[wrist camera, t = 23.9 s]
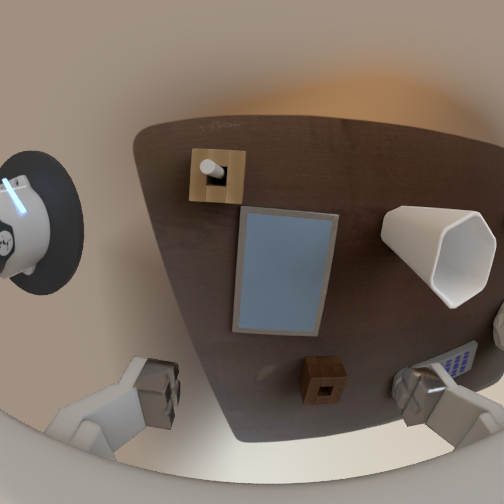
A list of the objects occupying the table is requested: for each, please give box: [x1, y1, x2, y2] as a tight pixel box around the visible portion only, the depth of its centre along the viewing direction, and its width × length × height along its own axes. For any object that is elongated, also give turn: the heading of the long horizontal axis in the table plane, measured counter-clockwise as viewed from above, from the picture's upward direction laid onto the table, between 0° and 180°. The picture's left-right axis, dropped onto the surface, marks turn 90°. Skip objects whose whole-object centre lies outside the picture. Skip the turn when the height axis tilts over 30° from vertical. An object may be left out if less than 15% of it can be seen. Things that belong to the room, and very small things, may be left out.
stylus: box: [200, 159, 227, 179], centre depth 32 cm, size 1×1×14 cm
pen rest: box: [189, 149, 247, 204], centre depth 36 cm, size 6×6×6 cm
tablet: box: [232, 205, 339, 336], centre depth 43 cm, size 14×20×1 cm
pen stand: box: [299, 357, 348, 405], centre depth 45 cm, size 6×6×6 cm
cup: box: [381, 206, 496, 308], centre depth 33 cm, size 11×10×17 cm
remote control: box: [391, 340, 478, 398], centre depth 49 cm, size 8×23×2 cm, turn 101°
